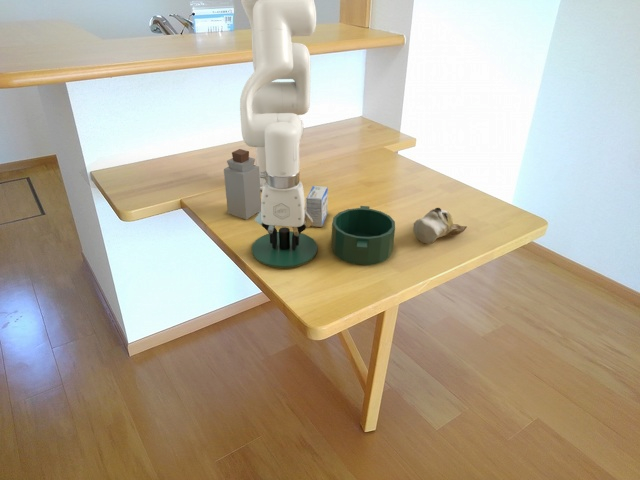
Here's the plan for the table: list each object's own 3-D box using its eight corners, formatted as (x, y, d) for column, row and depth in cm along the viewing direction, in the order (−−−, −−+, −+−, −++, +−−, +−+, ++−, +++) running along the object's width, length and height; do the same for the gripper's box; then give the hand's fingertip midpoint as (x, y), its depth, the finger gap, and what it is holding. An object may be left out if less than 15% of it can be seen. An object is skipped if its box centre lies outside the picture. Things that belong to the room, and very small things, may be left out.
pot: (327, 269, 113) (328, 241, 109) (335, 226, 130) (336, 201, 126) (392, 274, 111) (396, 246, 107) (391, 230, 129) (394, 205, 125)
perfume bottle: (246, 219, 133) (242, 158, 123) (227, 213, 136) (222, 153, 126) (261, 210, 138) (258, 150, 128) (243, 204, 141) (238, 145, 131)
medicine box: (321, 228, 129) (322, 199, 125) (305, 226, 130) (305, 197, 126) (327, 214, 136) (328, 186, 131) (312, 212, 137) (312, 185, 132)
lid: (244, 267, 113) (243, 244, 110) (260, 232, 127) (258, 212, 123) (313, 272, 111) (313, 250, 108) (320, 237, 125) (321, 216, 122)
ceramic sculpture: (405, 207, 121) (440, 193, 130) (400, 236, 125) (434, 222, 134) (439, 223, 114) (474, 208, 124) (433, 254, 119) (466, 237, 128)
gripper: (242, 182, 106) (247, 251, 116) (317, 187, 105) (316, 257, 114) (250, 169, 113) (254, 236, 122) (321, 174, 111) (320, 241, 121)
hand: (284, 245), depth 118 cm, fingers open, 4 cm apart
